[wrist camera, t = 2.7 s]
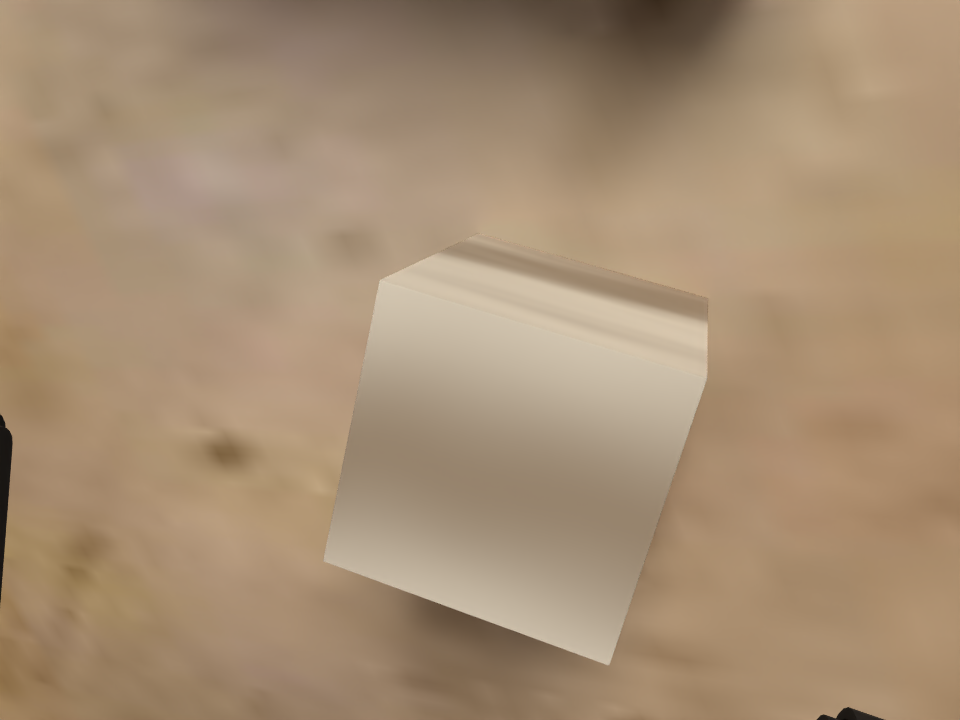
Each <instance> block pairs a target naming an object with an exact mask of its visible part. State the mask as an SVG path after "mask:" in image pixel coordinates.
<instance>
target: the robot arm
mask: <svg viewBox="0 0 960 720" xmlns="http://www.w3.org/2000/svg"><path fill="white" fill-rule="evenodd" d="M12 444H13V443H12V435H11V433H10V431H9V430H8V429H7V428H5V422H4V419H3V417H2V415H0V601H1V588H2V575H3V562H4V549H5V536H6V523H7V510H8V496H9V483H10V470H11V457H12ZM817 720H884V719H881V718H878V717H875V716H872V715H869V714H866V713H864V712H861V711H858V710H855V709H852V708H849V707H847V708H844V709H843V710H842V711H841V712H840V713H839V714H838V716H837V718H833V717H830V716H827V715H821V716H820V717H819V718H818V719H817Z"/></svg>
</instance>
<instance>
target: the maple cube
mask: <svg viewBox="0 0 960 720" xmlns="http://www.w3.org/2000/svg"><path fill="white" fill-rule="evenodd" d="M707 335H708V298H706V297H702V296H699V295H695V294H692V293H688V292H685V291H681V290H678V289H674V288H671V287H667V286H663V285H660V284H656V283H653V282H649V281H646V280H642V279H639V278H635V277H632V276H628V275H625V274H621V273H618V272H614V271H611V270H607V269H604V268H600V267H596V266H593V265H589V264H586V263H582V262H579V261H575V260H572V259H568V258H565V257H561V256H558V255H554V254H551V253H547V252H544V251H540V250H536V249H533V248H529V247H526V246H522V245H519V244H515V243H512V242H508V241H505V240H501V239H498V238H494V237H491V236H487V235H484V234H480V233H478V234H476V235H474V236H472V237H470V238H468V239H466V240H464V241H462V242H459V243H457V244H455V245H453V246H451V247H449V248H447V249H445V250H443V251H440V252H438V253H436V254H434V255H432V256H430V257H428V258H426V259H424V260H421V261H419V262H417V263H415V264H413V265H411V266H409V267H407V268H405V269H402V270H400V271H398V272H396V273H394V274H392V275H390V276H388V277H386V278H383V279H381V280H380V282H379V287H378V292H377V297H376V302H375V307H374V312H373V317H372V322H371V327H370V332H369V337H368V342H367V347H366V352H365V356H364V361H363V366H362V371H361V376H360V381H359V386H358V391H357V396H356V401H355V406H354V411H353V416H352V421H351V426H350V431H349V436H348V441H347V446H346V451H345V456H344V461H343V466H342V471H341V476H340V480H339V485H338V490H337V495H336V500H335V505H334V510H333V515H332V520H331V525H330V530H329V535H328V540H327V545H326V550H325V555H324V560H323V561H324V562H327V563H329V564H332V565H335V566H338V567H340V568H343V569H346V570H349V571H351V572H354V573H357V574H360V575H362V576H365V577H368V578H371V579H373V580H376V581H379V582H381V583H384V584H387V585H390V586H392V587H395V588H398V589H401V590H403V591H406V592H409V593H412V594H414V595H417V596H420V597H423V598H425V599H428V600H431V601H433V602H436V603H439V604H442V605H444V606H447V607H450V608H453V609H455V610H458V611H461V612H464V613H466V614H469V615H472V616H475V617H477V618H480V619H483V620H485V621H488V622H491V623H494V624H496V625H499V626H502V627H505V628H507V629H510V630H513V631H516V632H518V633H521V634H524V635H527V636H529V637H532V638H535V639H537V640H540V641H543V642H546V643H548V644H551V645H554V646H557V647H559V648H562V649H565V650H568V651H570V652H573V653H576V654H579V655H581V656H584V657H587V658H589V659H592V660H595V661H598V662H600V663H603V664H606V665H609V664H610V661H611V659H612V656H613V653H614V650H615V647H616V644H617V641H618V638H619V635H620V632H621V629H622V626H623V623H624V620H625V617H626V615H627V612H628V609H629V606H630V603H631V600H632V597H633V594H634V591H635V588H636V585H637V582H638V579H639V576H640V574H641V571H642V568H643V565H644V562H645V559H646V556H647V553H648V550H649V547H650V544H651V541H652V538H653V535H654V532H655V530H656V527H657V524H658V521H659V518H660V515H661V512H662V509H663V506H664V503H665V500H666V497H667V494H668V491H669V489H670V486H671V483H672V480H673V477H674V474H675V471H676V468H677V465H678V462H679V459H680V456H681V453H682V450H683V447H684V445H685V442H686V439H687V436H688V433H689V430H690V427H691V424H692V421H693V418H694V415H695V412H696V409H697V406H698V403H699V401H700V398H701V395H702V392H703V389H704V386H705V383H706V380H707Z"/></svg>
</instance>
